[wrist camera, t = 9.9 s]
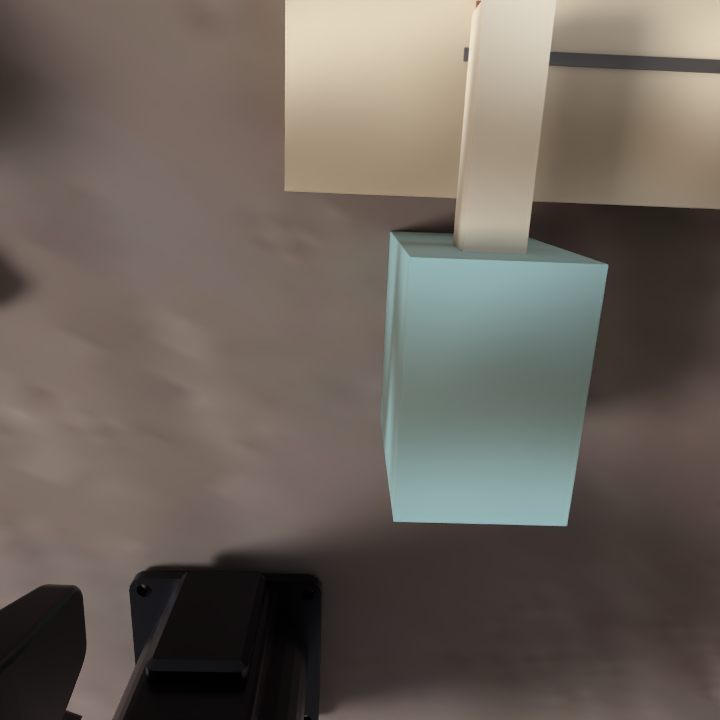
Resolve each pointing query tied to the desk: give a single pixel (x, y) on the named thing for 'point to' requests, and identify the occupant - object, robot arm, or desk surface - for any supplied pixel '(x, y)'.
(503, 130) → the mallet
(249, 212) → the desk surface
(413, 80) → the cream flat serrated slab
